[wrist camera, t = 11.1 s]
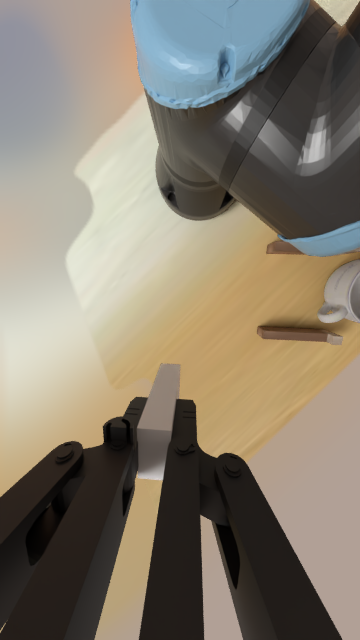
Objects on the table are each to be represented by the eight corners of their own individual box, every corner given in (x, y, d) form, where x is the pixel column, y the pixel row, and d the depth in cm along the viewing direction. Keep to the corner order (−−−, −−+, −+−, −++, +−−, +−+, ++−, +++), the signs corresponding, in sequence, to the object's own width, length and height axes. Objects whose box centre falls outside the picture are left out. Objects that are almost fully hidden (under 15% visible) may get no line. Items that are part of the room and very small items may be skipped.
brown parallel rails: (267, 245, 35) (279, 239, 30) (339, 246, 34) (364, 240, 29) (256, 333, 38) (266, 341, 33) (322, 336, 38) (341, 345, 33)
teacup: (369, 250, 34) (422, 241, 26) (380, 306, 36) (433, 313, 28) (291, 279, 36) (319, 279, 28) (306, 331, 38) (336, 344, 30)
